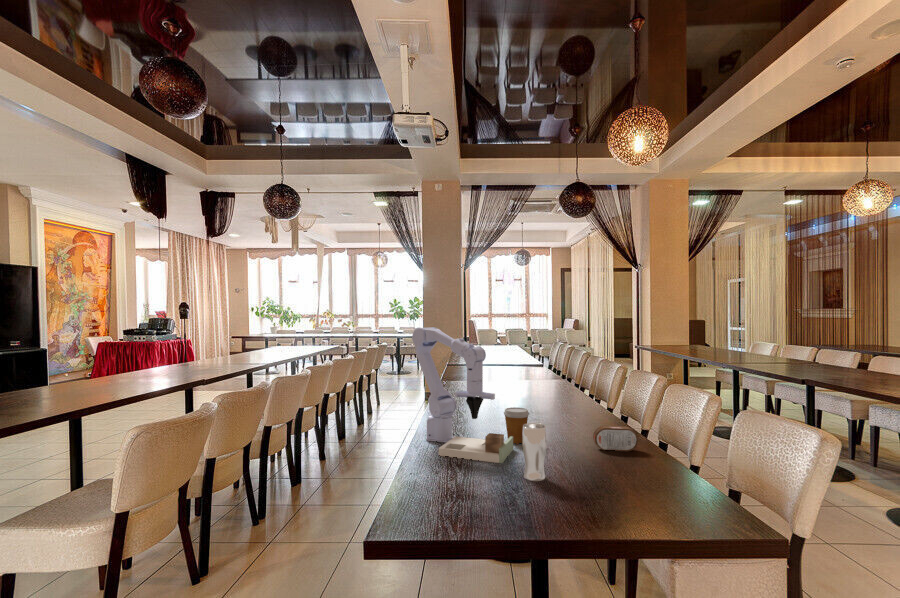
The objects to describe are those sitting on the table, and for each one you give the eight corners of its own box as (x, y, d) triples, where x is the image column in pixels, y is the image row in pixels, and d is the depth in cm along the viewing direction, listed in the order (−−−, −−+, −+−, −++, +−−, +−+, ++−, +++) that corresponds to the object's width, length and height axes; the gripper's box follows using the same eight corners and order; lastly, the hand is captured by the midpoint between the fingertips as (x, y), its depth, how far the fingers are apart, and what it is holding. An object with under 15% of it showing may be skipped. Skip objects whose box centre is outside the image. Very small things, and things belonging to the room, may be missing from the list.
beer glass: (546, 482, 128) (546, 429, 128) (521, 481, 129) (521, 428, 129) (546, 474, 134) (546, 423, 135) (522, 472, 136) (522, 422, 136)
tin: (636, 449, 159) (636, 425, 160) (639, 452, 156) (639, 428, 156) (593, 448, 161) (592, 424, 161) (594, 451, 158) (594, 427, 158)
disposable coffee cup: (531, 445, 164) (531, 412, 165) (505, 445, 164) (505, 412, 165) (527, 438, 174) (527, 407, 174) (502, 438, 174) (502, 407, 174)
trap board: (438, 455, 152) (438, 442, 152) (454, 443, 167) (454, 431, 167) (502, 463, 144) (502, 449, 144) (513, 449, 159) (513, 436, 159)
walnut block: (485, 452, 148) (485, 436, 148) (489, 447, 153) (489, 433, 153) (500, 453, 146) (500, 438, 146) (503, 449, 151) (503, 434, 151)
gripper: (452, 380, 162) (451, 418, 161) (490, 383, 156) (490, 422, 156) (458, 378, 168) (458, 414, 168) (496, 380, 163) (496, 418, 162)
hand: (474, 418), depth 162 cm, fingers closed
